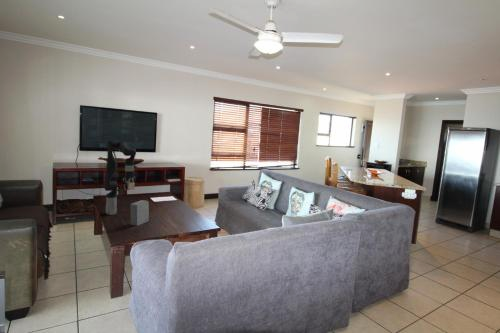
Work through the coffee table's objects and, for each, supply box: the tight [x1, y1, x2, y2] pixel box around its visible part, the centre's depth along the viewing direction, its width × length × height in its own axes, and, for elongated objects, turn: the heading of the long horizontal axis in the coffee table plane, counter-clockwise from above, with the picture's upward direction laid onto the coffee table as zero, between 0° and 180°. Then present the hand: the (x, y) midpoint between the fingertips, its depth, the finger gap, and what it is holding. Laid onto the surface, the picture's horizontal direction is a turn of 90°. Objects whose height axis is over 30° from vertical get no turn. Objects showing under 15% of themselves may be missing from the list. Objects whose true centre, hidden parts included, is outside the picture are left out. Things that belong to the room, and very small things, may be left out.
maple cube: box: [123, 181, 136, 191], centre depth 258 cm, size 6×6×6 cm
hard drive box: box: [130, 199, 150, 227], centre depth 267 cm, size 16×8×20 cm, turn 158°
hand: (129, 188), depth 258 cm, fingers closed on maple cube, 6 cm apart
